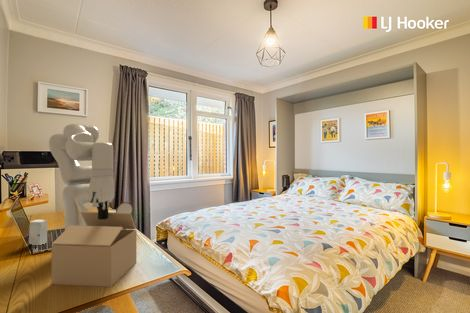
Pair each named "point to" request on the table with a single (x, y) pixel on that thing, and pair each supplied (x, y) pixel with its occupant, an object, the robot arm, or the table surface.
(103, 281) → the carton
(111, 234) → the front flap
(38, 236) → the skincare box
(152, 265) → the table surface
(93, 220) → the back flap
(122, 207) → the magnifying glass
